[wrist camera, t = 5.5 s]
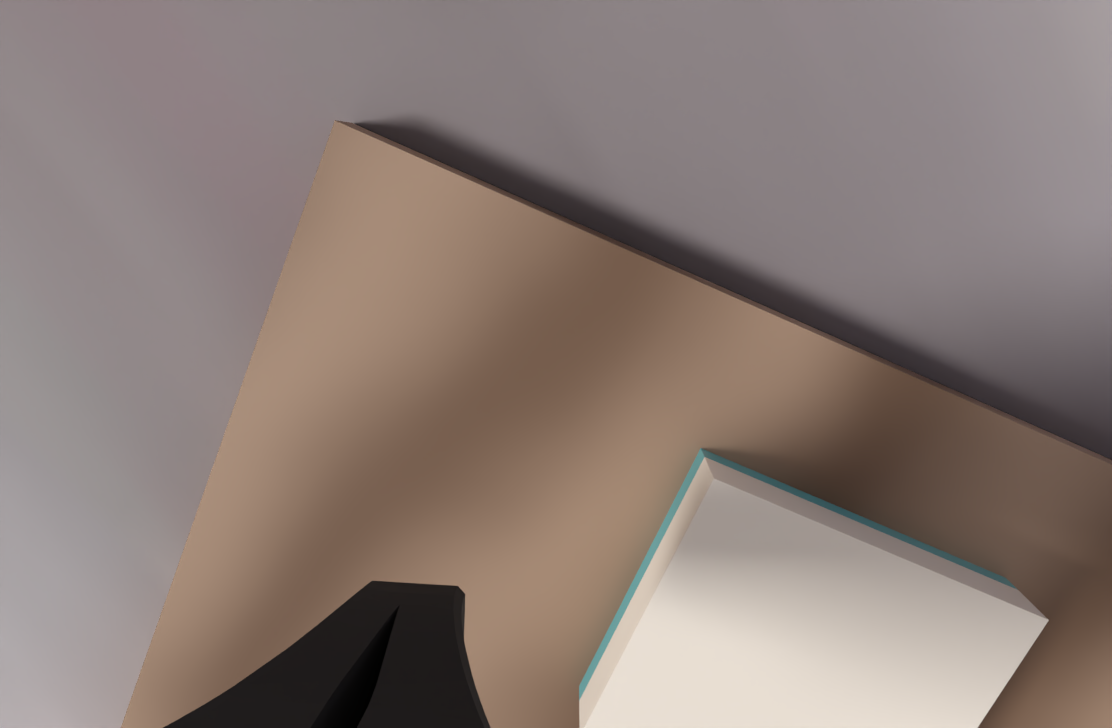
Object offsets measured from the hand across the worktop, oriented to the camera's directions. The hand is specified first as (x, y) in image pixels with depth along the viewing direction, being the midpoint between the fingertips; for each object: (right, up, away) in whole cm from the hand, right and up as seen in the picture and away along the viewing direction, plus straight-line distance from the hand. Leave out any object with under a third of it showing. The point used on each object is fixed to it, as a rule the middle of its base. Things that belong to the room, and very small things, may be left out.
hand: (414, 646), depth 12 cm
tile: (+4, -1, +5) cm, 6 cm away
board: (+5, -3, +7) cm, 9 cm away
